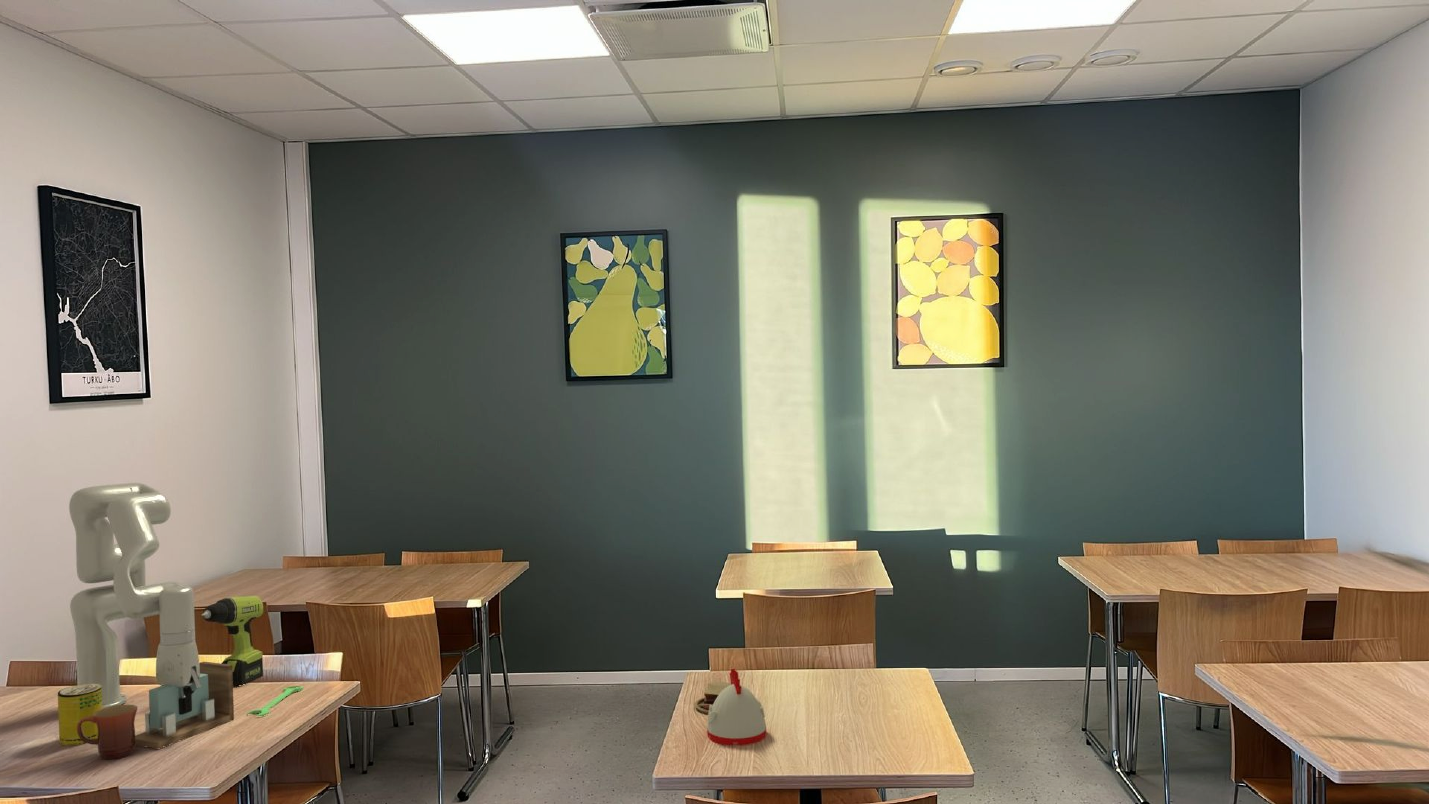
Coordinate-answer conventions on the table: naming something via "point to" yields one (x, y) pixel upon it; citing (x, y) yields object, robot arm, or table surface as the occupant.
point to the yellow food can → (78, 712)
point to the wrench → (276, 700)
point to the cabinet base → (212, 714)
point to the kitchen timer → (736, 716)
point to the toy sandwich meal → (710, 695)
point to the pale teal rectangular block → (175, 702)
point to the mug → (112, 731)
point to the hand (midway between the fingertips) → (180, 711)
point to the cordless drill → (239, 634)
